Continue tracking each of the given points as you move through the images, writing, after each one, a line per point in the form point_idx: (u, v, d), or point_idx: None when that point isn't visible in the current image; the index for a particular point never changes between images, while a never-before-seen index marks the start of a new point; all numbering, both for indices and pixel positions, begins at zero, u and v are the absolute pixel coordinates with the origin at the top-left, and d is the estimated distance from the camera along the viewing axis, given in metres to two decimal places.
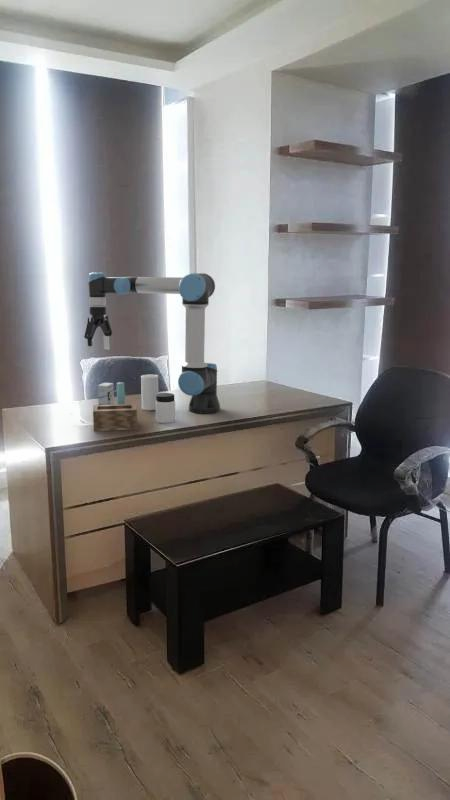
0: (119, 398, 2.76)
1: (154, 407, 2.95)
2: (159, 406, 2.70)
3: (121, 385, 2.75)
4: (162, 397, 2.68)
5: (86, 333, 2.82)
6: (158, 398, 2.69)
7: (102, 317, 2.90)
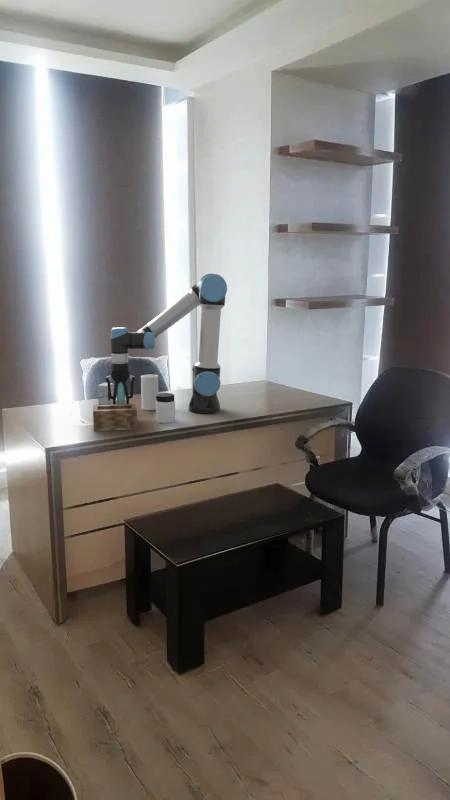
0: (119, 398, 2.76)
1: (154, 407, 2.95)
2: (159, 406, 2.70)
3: (121, 385, 2.75)
4: (162, 397, 2.68)
5: (108, 393, 2.76)
6: (158, 398, 2.69)
7: (125, 373, 2.74)
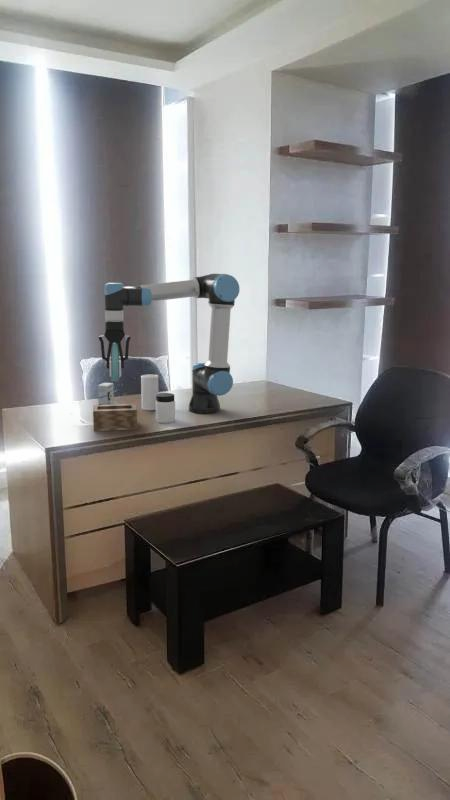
0: (113, 359, 2.57)
1: (154, 407, 2.95)
2: (159, 406, 2.70)
3: (115, 345, 2.56)
4: (162, 397, 2.68)
5: None
6: (158, 398, 2.69)
7: (120, 332, 2.56)
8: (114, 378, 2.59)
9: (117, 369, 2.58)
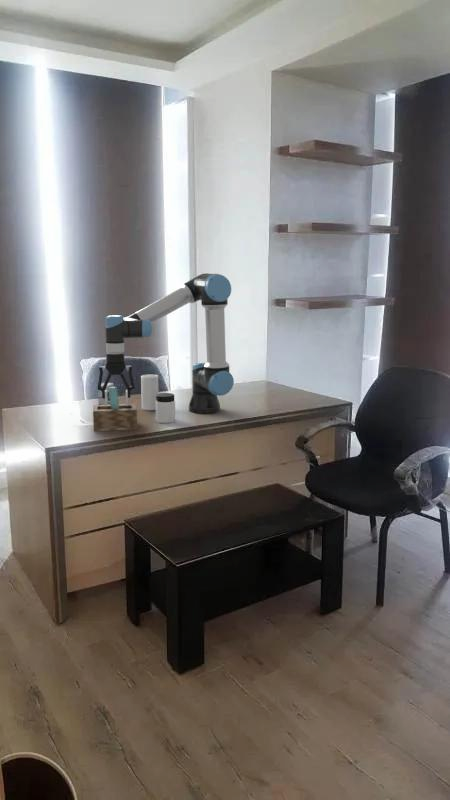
0: (113, 403, 2.60)
1: (154, 407, 2.95)
2: (159, 406, 2.70)
3: (113, 390, 2.59)
4: (162, 397, 2.68)
5: (98, 384, 2.59)
6: (158, 398, 2.69)
7: (121, 365, 2.58)
8: None
9: None
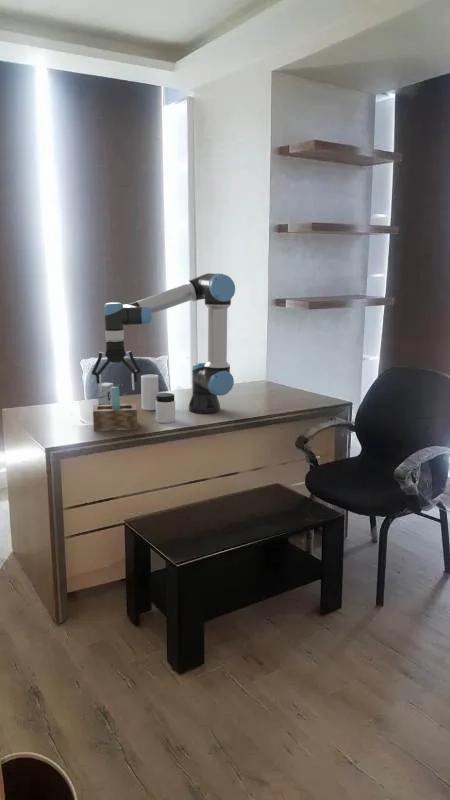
0: (114, 403, 2.61)
1: (154, 407, 2.95)
2: (159, 406, 2.70)
3: (115, 389, 2.60)
4: (162, 397, 2.68)
5: (93, 369, 2.57)
6: (158, 398, 2.69)
7: (120, 353, 2.57)
8: None
9: None
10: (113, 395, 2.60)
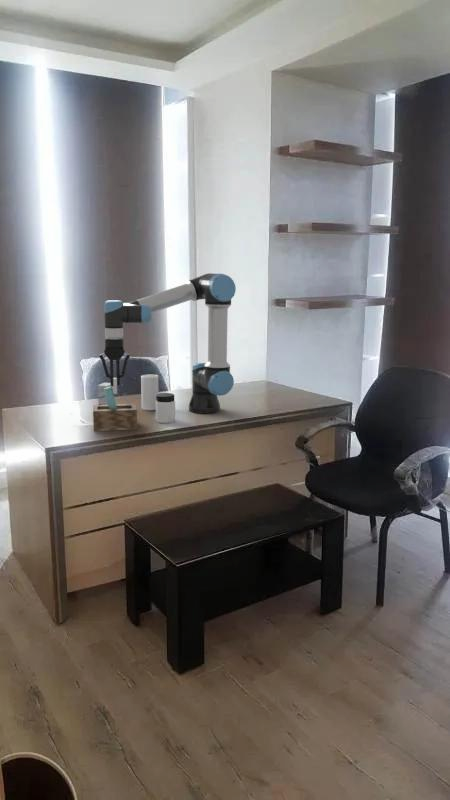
0: (110, 404, 2.60)
1: (154, 407, 2.95)
2: (159, 406, 2.70)
3: (109, 390, 2.58)
4: (162, 397, 2.68)
5: (105, 372, 2.58)
6: (158, 398, 2.69)
7: (120, 349, 2.56)
8: None
9: None
10: (108, 396, 2.59)
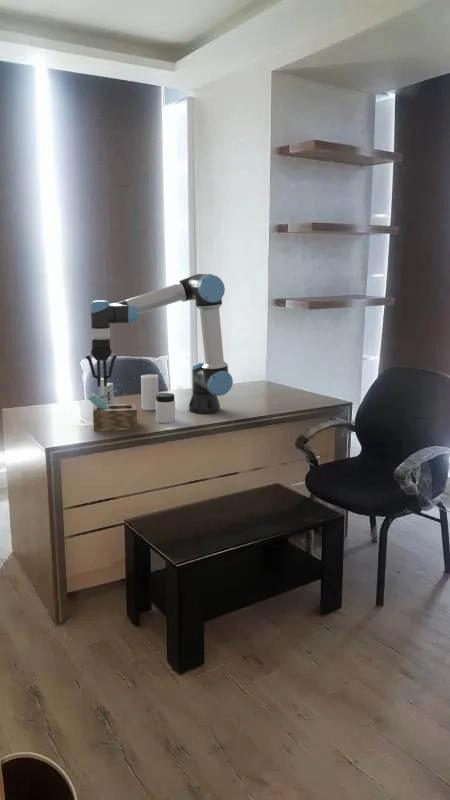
0: (101, 408, 2.60)
1: (154, 407, 2.95)
2: (159, 406, 2.70)
3: (93, 397, 2.58)
4: (162, 397, 2.68)
5: (92, 372, 2.57)
6: (158, 398, 2.69)
7: (107, 350, 2.55)
8: None
9: None
10: (95, 403, 2.59)
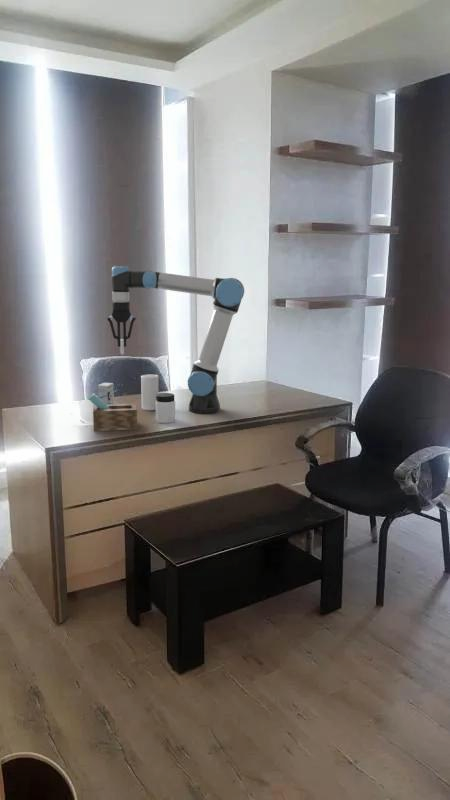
0: (101, 408, 2.60)
1: (154, 407, 2.95)
2: (159, 406, 2.70)
3: (93, 397, 2.58)
4: (162, 397, 2.68)
5: None
6: (158, 398, 2.69)
7: (127, 312, 2.75)
8: None
9: None
10: (95, 403, 2.59)
